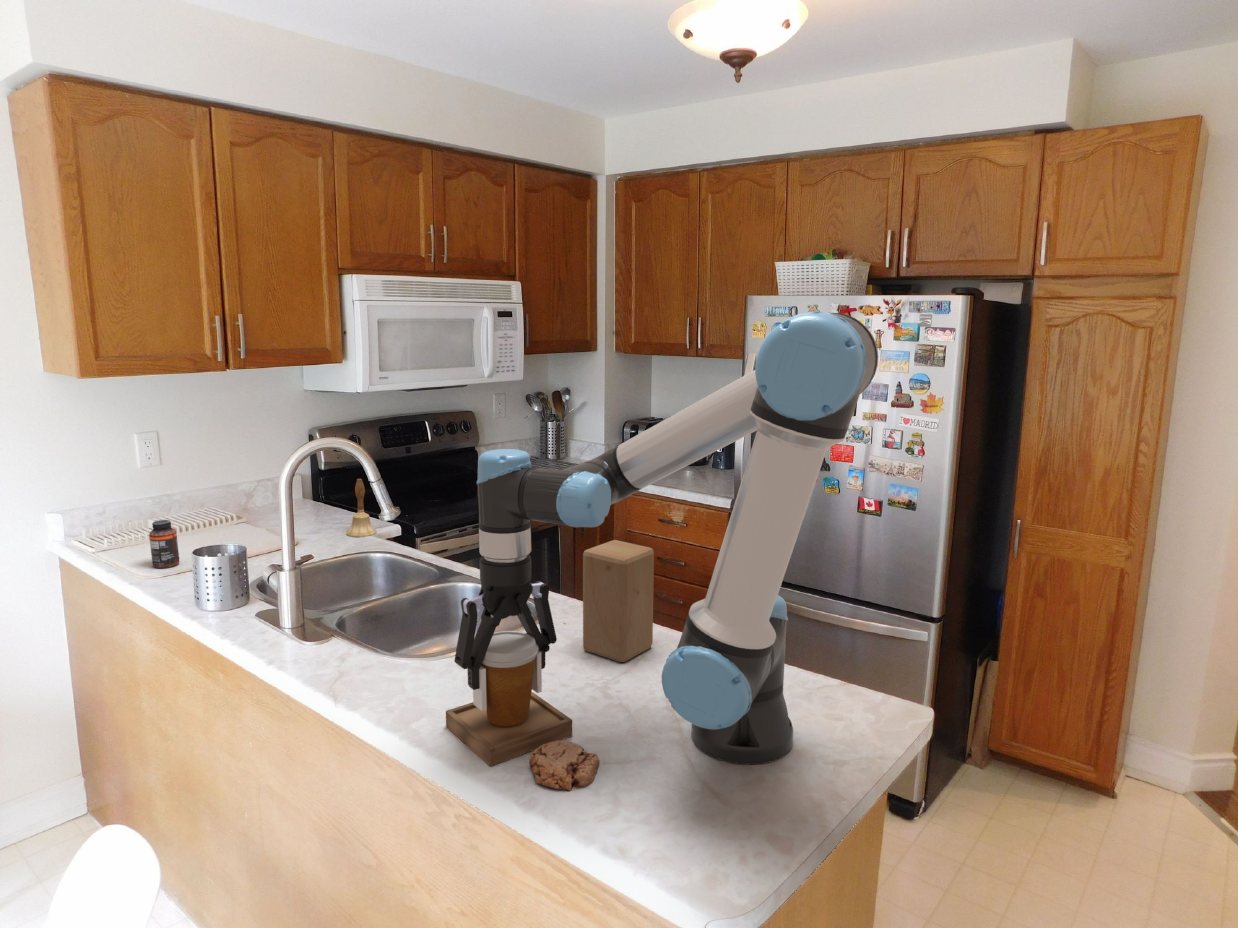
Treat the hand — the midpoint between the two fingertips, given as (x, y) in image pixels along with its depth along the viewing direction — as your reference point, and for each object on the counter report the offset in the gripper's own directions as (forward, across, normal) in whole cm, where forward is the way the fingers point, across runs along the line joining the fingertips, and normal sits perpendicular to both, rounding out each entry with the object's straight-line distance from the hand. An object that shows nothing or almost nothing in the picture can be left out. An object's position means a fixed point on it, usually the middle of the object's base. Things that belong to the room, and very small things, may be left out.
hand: (508, 697), depth 123 cm
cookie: (+6, -1, +14) cm, 15 cm away
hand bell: (+6, -23, -122) cm, 125 cm away
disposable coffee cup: (+3, 0, 0) cm, 3 cm away
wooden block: (+6, -32, -14) cm, 35 cm away
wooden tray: (+5, 0, 0) cm, 5 cm away
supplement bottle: (+6, +27, -122) cm, 125 cm away
